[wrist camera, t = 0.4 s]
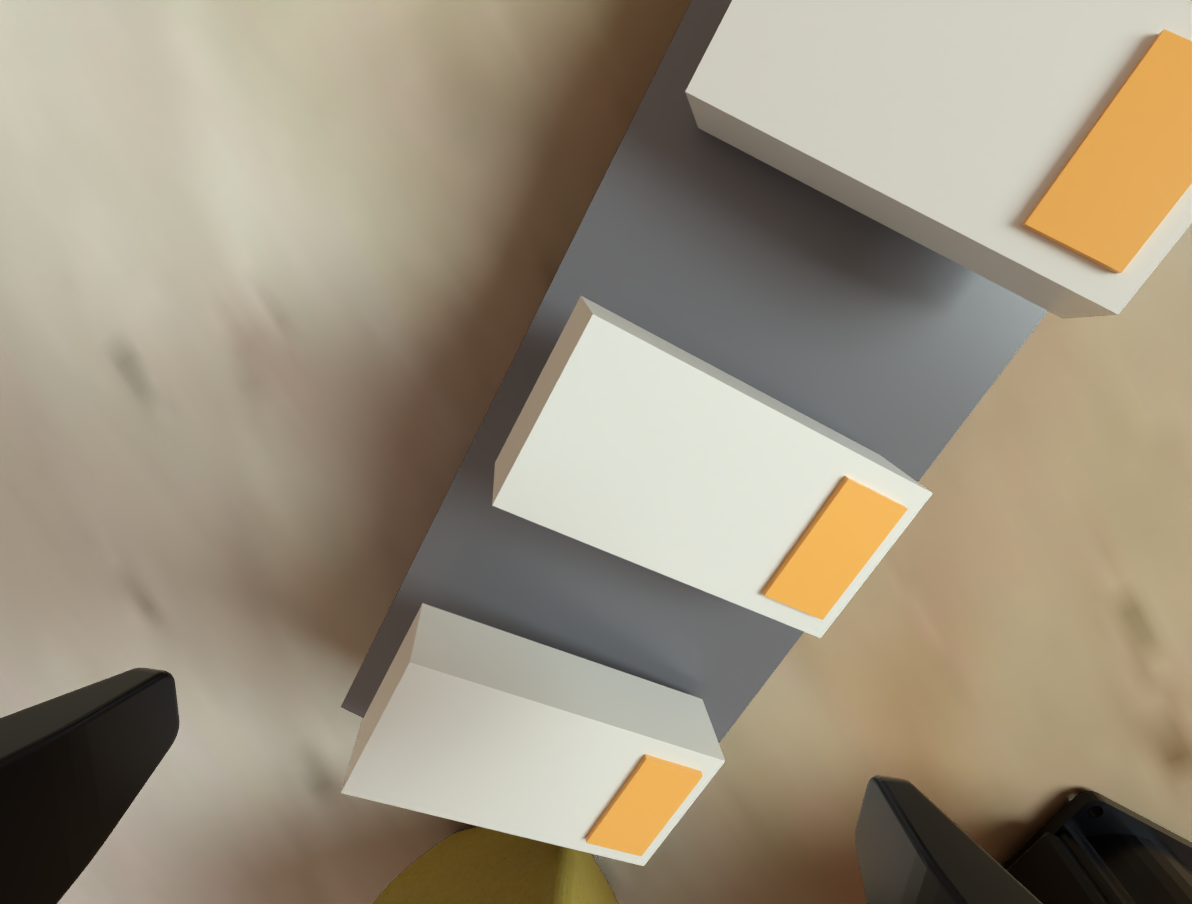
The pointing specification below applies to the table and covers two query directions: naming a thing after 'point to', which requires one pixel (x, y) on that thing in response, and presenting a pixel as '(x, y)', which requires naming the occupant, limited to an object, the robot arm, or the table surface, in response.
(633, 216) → the power strip
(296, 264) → the table surface
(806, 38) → the rocker
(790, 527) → the block
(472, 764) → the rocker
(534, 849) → the flower pot
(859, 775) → the table surface
